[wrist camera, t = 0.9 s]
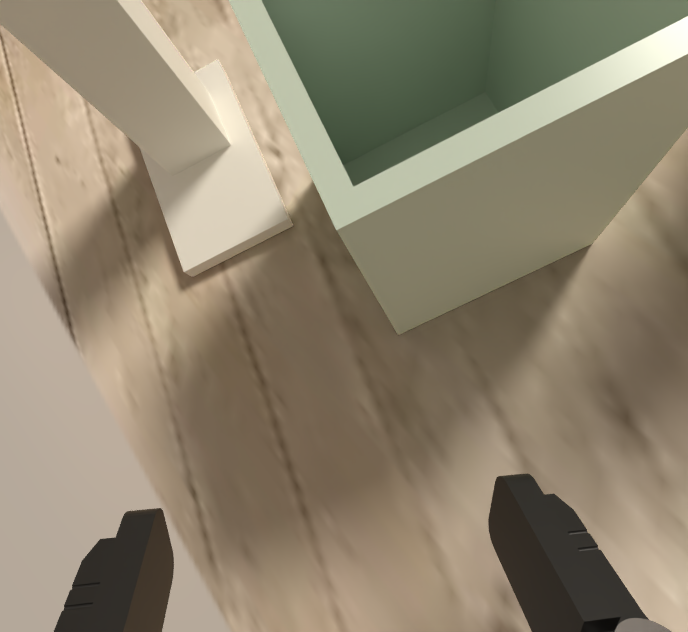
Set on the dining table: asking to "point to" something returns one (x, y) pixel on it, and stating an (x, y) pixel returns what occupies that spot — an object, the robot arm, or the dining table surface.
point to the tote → (471, 128)
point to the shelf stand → (162, 120)
